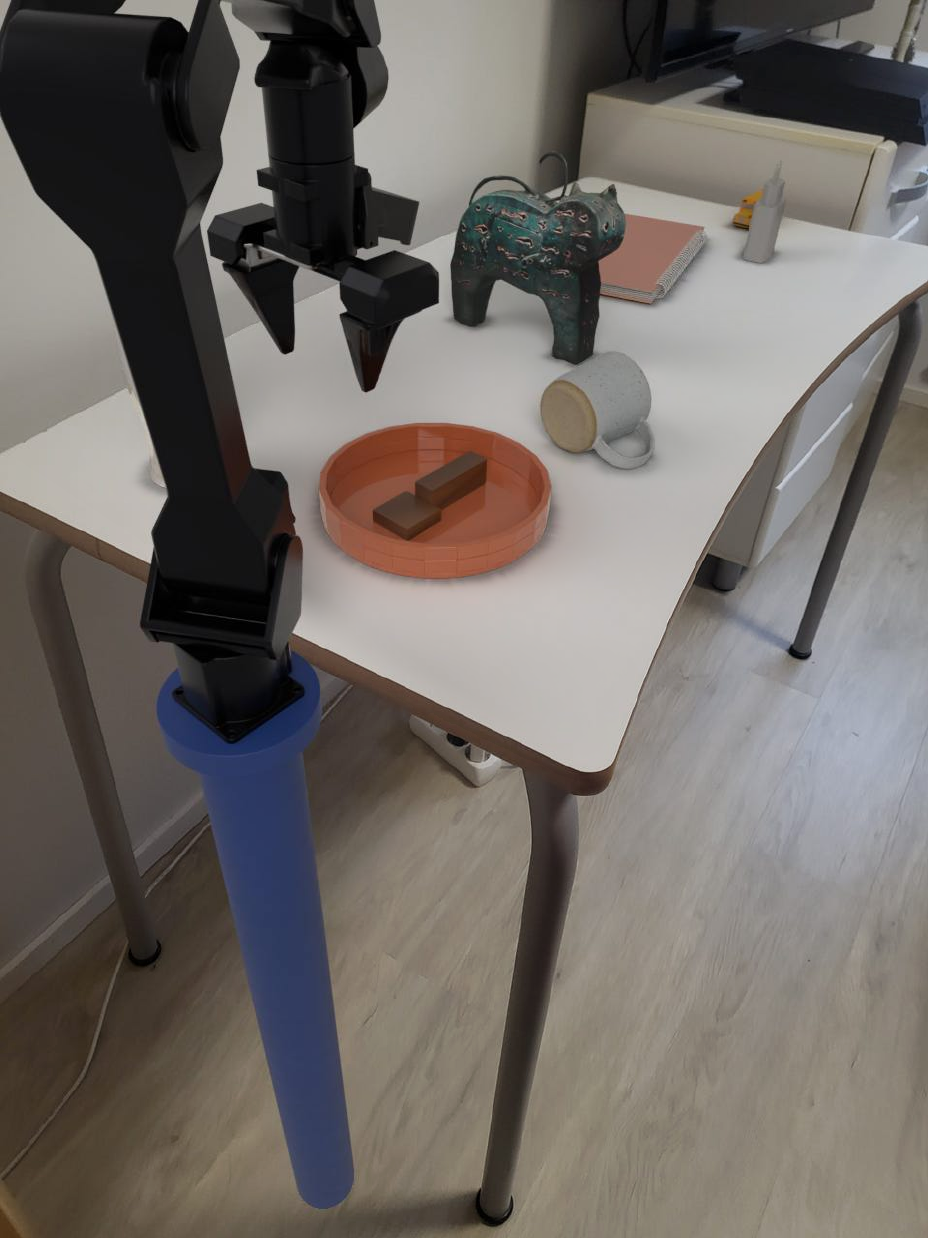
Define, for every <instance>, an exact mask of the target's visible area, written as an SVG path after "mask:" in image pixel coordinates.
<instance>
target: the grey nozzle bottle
mask: <svg viewBox="0 0 928 1238" xmlns="http://www.w3.org/2000/svg"><path fill="white" fill-rule="evenodd" d="M782 166H783V160H780V161H779V163H776V165H775V169H774V173H773V177H771V178H768V179H767V180H766V181H765V182H764V185H763V189H764V190H763V194H762V197H761V198H760V199H759V200H758V201H757V202H756V203H755V205H754V209H753V214H752V218H751V223H750V227H749V228H748V232H747V237H746V241H745V246H744V250H743V253H742V255H743V256H742V259H743V260H745V261H749V262H752V263H753V262H754V263H759V264H763V263H766V262H767V261H768V260H769V259H770V257H772V256H773V255H774V252H775V247H776V244H777V239H778V235H779V232H780V227H781V224H782V219H783V216H784V215H783V214H784V211H785V206H786V202H787V198H785V197H783V196H782V193H783V194H784V188H785V183H786V180H785V179H783V178H781V177H780V175H781V170H782Z"/></svg>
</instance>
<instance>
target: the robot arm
mask: <svg viewBox="0 0 928 1238" xmlns="http://www.w3.org/2000/svg"><path fill="white" fill-rule="evenodd" d="M126 1H127V0H10V2H9V5H8V8H7V10H6V13H5V15H4V18H3V21H2V24H1V26H0V120H1V123H2V125H3V128H4V129H5V132H6V134H7V137H8V138H9V140H10V143H11V144H12V146H13V149H14V151H15V153H16V156H17V157H18V160H19V162H20V164H21V166H22V169H23V171H24V172H25V174H26V177H27V179H28V182H29V184H30V186H31V188H32V190H33V192H34V193H35V195H36V196H37V197H38V198H39V199H40V200H41V201H42V202H43V203H44V204H45V205H46V206H47V207H48V208H49V209H50V210H51V211H52V212H53V213H54V214H55V215H56V216H57V217H58V218H59V220H61V221H62V222H63V224H65V225H66V226H67V227H68V228H69V229H70V230H71V232H72V233H74V234H75V235H76V236H77V238H79V239H80V241H82V242H83V244H84V245H86V247H87V248H89V250H90V251H91V254H92V255H93V258H94V260H95V263H96V266H97V269H98V273H99V276H100V278H101V283H102V285H103V289H104V292H105V296H106V298H107V303H108V305H109V308H110V312H111V314H112V315H113V316H112V315H111V316H112V319H113V318H114V321H115V325H116V328H117V331H118V334H119V338H120V341H121V344H122V347H123V351H124V354H125V357H126V360H127V363H128V367H129V370H130V373H131V376H132V380H133V383H134V386H135V389H136V392H137V396H138V399H139V402H140V405H141V409H142V412H143V415H144V418H145V422H146V425H147V428H148V431H149V434H150V438H151V441H152V444H153V447H154V451H155V454H156V457H157V460H158V464H159V467H160V470H161V473H162V476H163V480H164V483H165V486H166V488H165V490H166V495H167V497H166V499H165V501H164V503H163V506H162V507H161V510H160V512H159V514H158V516H157V518H156V520H155V523H153V526H152V529H151V530H150V535H151V536H150V537H151V540H152V544H153V549H152V554H151V559H150V565H149V570H148V576H147V582H146V588H145V593H144V599H143V603H142V604H143V605H142V608H141V609H142V610H141V615H140V620H139V627H140V630H141V631H142V632H143V634H144V636H146V638H147V640H148V641H149V642H150V643H151V642H152V643H160V642H162V643H169V644H172V647H173V653H174V656H175V662H176V665H177V668H178V670H179V674H180V678H181V682H182V685H181V686H179V687H178V688H176V689H175V690H173V692H172V696H173V699H174V701H176V702H177V703H178V704H179V705H181V706H182V707H183V708H184V709H185V710H187V711H188V712H189V713H190V714H192V715H193V716H194V717H195V718H197V719H198V720H199V721H200V722H201V723H203V724H204V725H205V726H206V727H208V728H209V729H210V730H211V731H213V732H214V733H215V734H216V735H217V736H219V737H220V738H221V739H222V740H224V741H225V742H226V743H228V744H235V743H237V742H238V741H240V740H241V739H243V738H244V737H245V736H247V735H248V734H250V733H251V732H253V731H254V730H256V729H257V728H259V727H260V726H261V725H263V724H264V723H266V722H267V721H269V720H270V719H272V718H273V717H275V716H276V715H277V714H279V713H280V712H282V711H283V710H285V709H286V708H288V707H289V706H290V705H292V704H293V703H295V702H296V701H298V700H299V699H301V698H302V697H303V696H304V694H305V691H304V687H303V686H302V685H301V684H299V683H298V682H297V681H295V680H294V679H292V678H291V677H290V676H289V674H290V673H292V662H291V654H290V650H291V647H290V639H291V636H292V634H293V632H294V631H295V628H296V626H297V624H298V622H299V620H300V618H301V615H302V598H303V569H304V567H303V566H304V548H303V542H302V539H301V536H299V535H298V534H297V533H296V532H297V531H296V527H295V525H294V524H295V523H296V516H295V514H294V512H293V509H292V505H291V498H290V497H291V496H290V488H289V483H288V480H287V479H286V478H285V476H284V474H283V473H282V472H281V471H280V470H272V469H271V470H270V469H263V468H254V467H253V465H252V462H251V458H250V453H249V448H248V444H247V439H246V435H245V430H244V426H243V421H242V416H241V412H240V411H241V410H240V406H239V402H238V396H237V392H236V389H235V383H234V378H233V374H232V369H231V364H230V359H229V355H228V351H227V350H228V349H227V347H226V342H225V336H224V333H223V327H222V323H221V318H220V313H219V309H218V305H217V300H216V295H215V291H214V286H213V282H212V281H213V280H212V276H211V272H210V271H211V270H210V267H209V262H208V258H207V253H206V248H205V243H204V239H203V234H202V227H201V221H202V219H203V216H204V214H205V212H206V210H207V207H208V204H209V201H210V199H211V196H212V194H213V192H214V189H215V186H216V184H217V181H218V179H219V177H220V174H221V171H222V170H223V166H224V155H223V146H222V138H221V137H222V133H223V129H224V127H225V126H224V125H225V122H226V118H227V115H228V112H229V108H230V104H231V101H232V97H233V93H234V90H235V87H236V83H237V79H238V76H239V73H240V69H241V62H240V61H241V60H240V57H239V54H238V52H237V49H236V46H235V43H234V41H233V38H232V35H231V32H230V30H229V27H228V24H227V21H226V19H225V16H224V13H223V10H222V8H221V2H223V3H224V2H225V3H229V4H231V14H232V16H233V17H234V18H235V19H236V20H237V21H239V22H240V23H242V24H243V25H244V26H246V27H247V28H249V29H250V30H251V31H253V32H254V33H255V35H256V36H257V38H258V39H259V41H262V42H263V41H264V42H269V44H268V49H267V51H266V54H265V55H264V56H263V58H262V60H260V62H259V63H258V64H257V66H256V69H255V73H254V76H253V77H254V78H253V79H254V84H255V86H256V87H257V88H261V94H262V95H261V96H262V102H263V103H262V105H263V115H264V124H265V125H264V126H265V136H266V145H267V157H268V165H269V166H267V167H263V168H258V169H256V178H257V186H258V187H260V188H263V189H265V190H269V191H271V197H272V205H269V204H267V203H263V202H258V203H255V204H252V205H248V206H244V207H240V208H236V209H233V210H229V211H226V212H222V213H218V214H215V215H214V217H213V218H212V220H211V222H210V224H209V226H208V227H207V229H206V234H207V235H206V236H207V242H208V248H209V254H210V255H209V256H210V257H212V258H214V259H217V260H219V261H222V264H221V266H222V270H223V271H224V272H226V273H228V274H229V276H230V277H231V278H232V280H233V281H234V283H235V284H236V286H237V287H238V288H239V290H240V291H241V293H242V295H243V296H244V297H245V299H246V300H247V302H248V303H249V304H250V306H251V307H252V309H253V311H254V312H255V315H257V317H258V319H259V321H260V322H261V323H262V325H263V326H264V328H265V330H266V332H267V333H268V335H269V336H270V338H271V339H272V341H273V343H274V344H275V346H276V347H277V349H278V351H279V352H280V353H281V354H282V355H288V354H291V353H293V352H294V351H295V341H296V319H295V295H294V294H295V293H294V291H295V290H294V280H295V278H296V276H297V273H298V271H299V268H300V267H301V268H303V269H305V270H308V271H312V272H315V273H317V274H320V275H322V276H324V277H326V278H329V279H332V280H335V281H337V282H339V283H338V285H339V299H340V301H341V302H342V305H343V306H344V308H345V310H346V311H344V312H341V313H339V316H338V317H339V320H340V322H341V327H342V330H343V335H344V338H345V342H346V345H347V347H348V351H349V355H350V359H351V362H352V366H353V370H354V374H355V377H356V379H357V382H358V385H359V387H360V390H361V391H362V392H364V393H365V394H367V393H369V392H371V391H373V390H375V389H376V387H377V385H378V381H379V378H380V376H381V373H382V370H383V368H384V364H385V361H386V359H387V356H388V353H389V350H390V347H391V345H392V342H393V340H394V338H395V335H396V334H397V331H398V329H399V327H400V325H401V324H402V323H403V321H404V320H406V319H407V318H410V317H412V316H414V315H417V314H419V313H421V312H423V310H426V309H429V308H430V307H433V306H435V305H438V304H440V273H439V271H438V269H436V268H435V267H434V265H433V264H432V263H431V262H429V261H426V260H424V259H420V258H418V257H415V256H413V255H410V254H407V253H404V252H402V251H398V250H395V249H393V250H391V251H388V252H385V253H382V254H379V255H377V256H373V257H370V258H368V259H364V258H362V257H358V256H357V255H358V250H360V249H364V250H370V249H373V248H377V247H379V238H382V239H385V240H393V241H398V242H400V244H401V245H404V246H411V244H412V243H411V242H412V238H413V234H414V229H415V225H416V220H417V217H418V210H419V207H420V201H419V200H416V199H413V198H409V197H407V196H403V195H400V194H397V193H393V192H390V191H387V190H384V189H381V188H378V187H374V186H373V185H372V184H373V183H372V181H373V180H372V175H371V173H370V172H369V168H367V167H364V166H361V165H357V164H356V154H355V134H354V133H355V132H354V129H355V128H356V127H358V126H359V125H360V124H361V123H362V122H363V121H365V119H366V118H367V117H368V116H369V115H371V114H372V112H374V111H375V110H376V109H378V107H379V106H380V105H381V103H382V102H383V101H384V99H385V96H386V94H387V90H388V86H389V78H390V77H389V68H388V66H387V62H386V60H385V56H384V55H383V53H382V51H381V49H380V46H379V45H380V44H381V41H382V32H381V26H380V22H379V17H378V12H377V6H376V3H375V0H197V3H196V5H195V6H196V7H195V10H194V13H193V17H192V20H191V24H190V26H189V30H188V29H187V28H186V27H185V25H184V24H183V23H182V22H181V21H179V20H178V19H175V18H174V17H172V16H162V15H159V16H158V15H148V14H147V15H146V14H145V15H144V14H130V13H129V14H128V13H117V12H118V11H119V10H120V8H122V7H123V6H124V4H125V3H126ZM296 691H299V692H296ZM179 694H182V695H179ZM231 735H234V736H233V737H229V736H231Z"/></svg>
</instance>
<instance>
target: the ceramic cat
mask: <svg viewBox="0 0 928 1238" xmlns="http://www.w3.org/2000/svg"><path fill="white" fill-rule="evenodd" d="M548 157H554V158H558V160H560V162H561V163H562V165H563V167H564V171H565V178H564V185H563V188H562V192H561V194H560V195H559V196H556V197H550V196H548V195H547V194H546V193H543V192H541V191H536V190H534V189H533V188H531V187H530V186H529V185H528V184H526V183H525V182H524V181H522V180H520V179H519V178H517V177H515V176H512V175H503V174H500V175H492V176H488V177H484V178H483V179H481V181H479V182H478V183H477V185H476V186H475V188H474V189H473V191H472V193H471V195H470V197H469V201H468V206H467V208H466V209H465V211H464V212H463V214H462V215H461V218H460V220H459V223H458V227H457V231H456V233H455V240H454V246H453V247H454V248H453V254H452V257H451V259H450V263H449V264H450V267H449V268H450V269H449V270H450V283H451V288H450V289H451V291H450V292H451V301H452V313H453V319H454V320H455V321H456V322H458V323H461V324H462V325H465V326H468V327H472V328H475V327H476V326H478V325H480V324H483V323H485V321H486V316H487V311H488V307H489V302H490V299H491V295H492V292H493V289H494V285H495V284H496V282H497V281H503V282H505V283H507V284H508V285H510V286H513V287H514V288H515V289H518V290H520V291H522V292H524V293H526V294H529V295H533V296H537V297H539V298H540V299H541V300H542V302H543V304H544V306H545V308H546V309H547V313H548V315H549V318H550V322H551V325H552V332H553V334H552V335H553V341H552V347H551V348H552V350H551V354H552V355H551V356H552V358H555V359H561V360H564V361H566V362H569V363H572V364H574V365H578V364H579V363H581V362H584V361H585V360H587V359H588V358H590V357H591V356H594V349H595V339H596V332H597V328H598V323H599V320H600V315H601V314H600V297H601V294H600V289H601V276H600V272H599V260H601V259H603V258H604V257H606V256H608V255H609V254H611V253H613V252H614V251H615V250H617V249H618V248H619V247H620V245H621V243H622V241H623V238H624V233H625V227H626V219H625V214H626V213H625V211H624V210H623V208H622V207H621V205H620V204H619V201H618V192H617V187H616V186H615V184H614V183H612V184H610V185H608V186H607V187H606V188H605V189H603V191H601V192H585V191H582V189H581V188H580V185H579V184H578V182H577V181H576V180H574V181H573V183H572V185H571V188H570V191H569V194H568V195H566V193H567V189H568V179H569V167H568V163H567V160H566V159H565V157H564V155H562V154H561V153H560V152H558V151H557V150H552V151H549V152H546V153H544V154H543V155H542V156H541V157H540V159H539V165H541V164H542V163H543V161H545V160H546V159H547V158H548ZM493 181H511V182H514V183H517V184H518V185H520V186H521V187H523V189H524V190H514V189H501V190H495V191H492V192H490V193H487V194H484V195H482V196H480V197H478V198H477V199H475V196H476V194H477V193H478V191H479V190H480V189H481V188H482V187H484V186H485V185H486V184H488V183H489V182H493ZM474 199H475V200H474ZM624 213H625V214H624Z"/></svg>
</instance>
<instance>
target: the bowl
mask: <svg viewBox="0 0 928 1238" xmlns="http://www.w3.org/2000/svg"><path fill="white" fill-rule="evenodd" d="M468 451H472V452H474V453H476V454H478V455H480V456H482V457H484V458H487V473H486V484H484V485H482V486H481V487H479V488H477V489H476V490H474V491H472V492H471V493H469V494H467V495H466V496H464V497H462V498H461V499H459V500H458V501H456V502H454V503H453V504H451V505H449V506H448V507H446V508H444V509H443V510H441V521H440V522H438V523H436V524H435V525H433V526H431V527H430V528H428V529H427V530H425V531H423V532H422V533H420V534H418V535H417V536H415V537H414V538H412V539H410V540H409V541H407V540H405V539H403V538H401V537H400V536H398V535H396V534H394V533H393V532H391V531H389V530H387V529H385V528H384V527H382V526H380V525H378V524H376V523H375V522H373V509H375V508H377V507H378V506H380V505H382V504H384V503H385V502H387V501H389V500H391V499H392V498H394V497H396V496H398V495H399V494H401V493H403V492H405V491H408V492H410V493H412V494H414V495H415V482H416V481H417V480H419V479H421V478H423V477H424V476H426V475H428V474H430V473H431V472H433V471H435V470H437V469H438V468H440V467H442V466H444V465H446V464H447V463H449V462H451V461H453V460H454V459H456V458H458V457H460V456H461V455H463V454H465V453H467V452H468ZM552 489H553V487H552V482H551V478H550V474H549V471H548V469H547V467H546V466H545V464H544V463H543V462H542V461H541V460H540V458H539V457H538V456H537V455H536V454H535V453H533V452H532V451H531V450H530V449H528V448H527V447H526V446H524V445H523V444H522V443H520V442H518V441H516V440H515V439H512V438H510V437H507V436H506V435H503V434H501V433H499V432H495V431H492V430H489V429H485V428H481V427H477V426H474V425H473V426H472V425H466V424H457V423H451V422H414V423H413V422H412V423H406V424H399V425H392V426H388V427H384V428H380V429H377V430H374V431H370V432H367V433H364V434H363V435H360V436H358V437H356V438H355V439H352V440H350V441H348V442H347V443H344V444H343V445H342V446H341V447H340V448H338V449H337V450H336V451H335V452H334V453H333V454H331V455H330V456H329V457H328V459H327V461H326V463H325V464H324V465H323V468H322V469H321V471H320V473H319V481H318V497H319V507H320V515H321V520H322V524H323V527H324V529H325V531H326V533H327V535H328V537H329V538H330V539H331V540H332V542H333V543H334V544H335V545H336V546H337V547H338V548H339V549H341V551H343V552H344V553H346V554H347V555H348V556H350V557H351V558H353V559H354V560H356V561H359V562H360V563H362V564H364V565H366V566H369V567H372V568H374V569H376V570H380V571H382V572H386V573H389V574H394V575H399V576H403V577H404V576H405V577H409V578H411V577H412V578H421V579H454V578H455V579H457V578H463V577H469V576H475V575H480V574H484V573H487V572H490V571H491V572H492V571H494V570H497V569H501V568H503V567H504V566H506V565H509V564H510V563H513V562H515V561H517V560H518V559H520V558H522V557H523V556H524V555H526V554H527V553H528V552H529V551H530V550H531V549H533V548H534V547H535V545H536V544H537V543H538V542H539V541H540V539H541V537H542V536H543V534H544V533H545V530H546V528H547V525H548V518H549V513H550V505H551V499H552V498H551V496H552Z"/></svg>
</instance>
